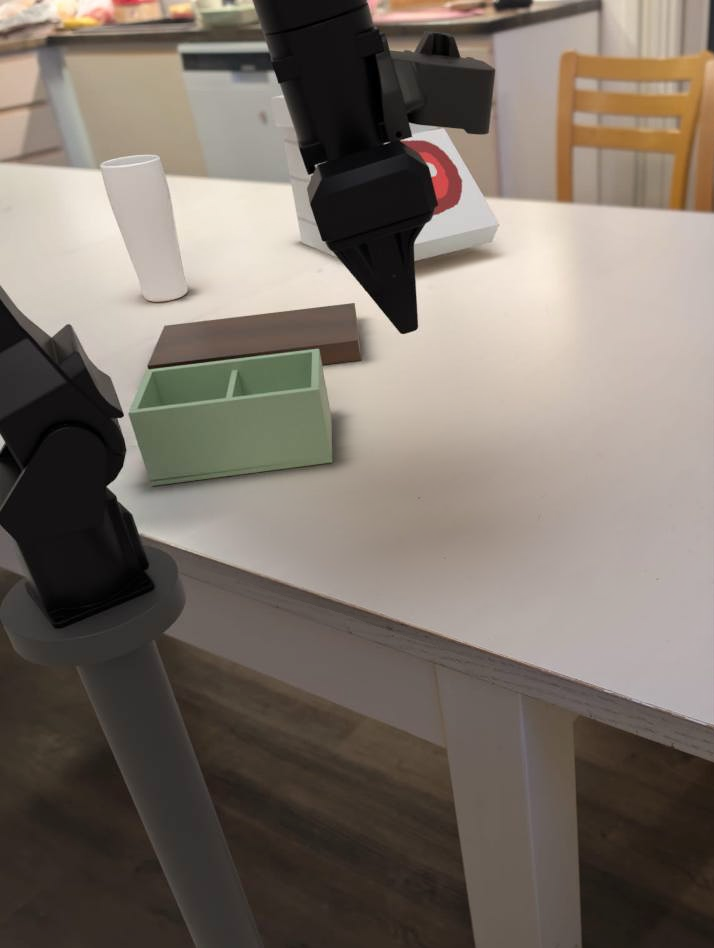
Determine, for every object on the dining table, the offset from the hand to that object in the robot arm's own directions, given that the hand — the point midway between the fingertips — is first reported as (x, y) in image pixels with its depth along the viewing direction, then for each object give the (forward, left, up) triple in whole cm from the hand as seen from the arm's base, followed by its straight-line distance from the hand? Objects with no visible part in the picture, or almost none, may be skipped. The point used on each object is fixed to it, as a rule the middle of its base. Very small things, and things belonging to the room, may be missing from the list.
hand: (399, 305), depth 59 cm
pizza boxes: (+37, +60, -14) cm, 72 cm away
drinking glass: (+7, +65, -14) cm, 67 cm away
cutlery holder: (-6, +17, -14) cm, 23 cm away
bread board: (+6, +38, -14) cm, 41 cm away
